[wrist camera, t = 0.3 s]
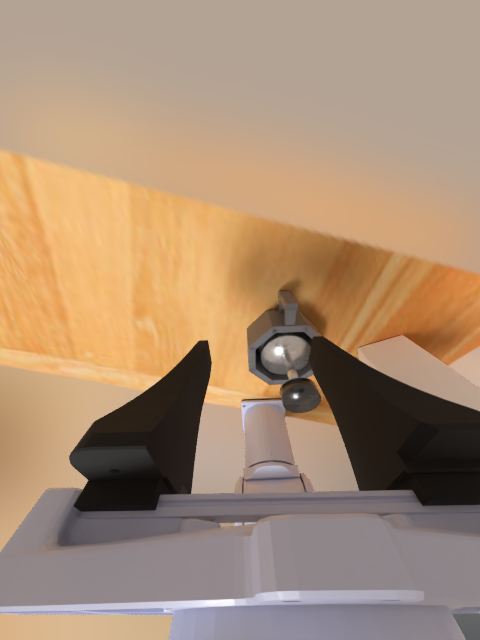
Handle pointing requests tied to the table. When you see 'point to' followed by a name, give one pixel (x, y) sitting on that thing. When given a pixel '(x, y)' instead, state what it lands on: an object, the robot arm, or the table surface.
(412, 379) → the milk
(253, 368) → the grey jug
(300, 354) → the plunger
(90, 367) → the table surface
